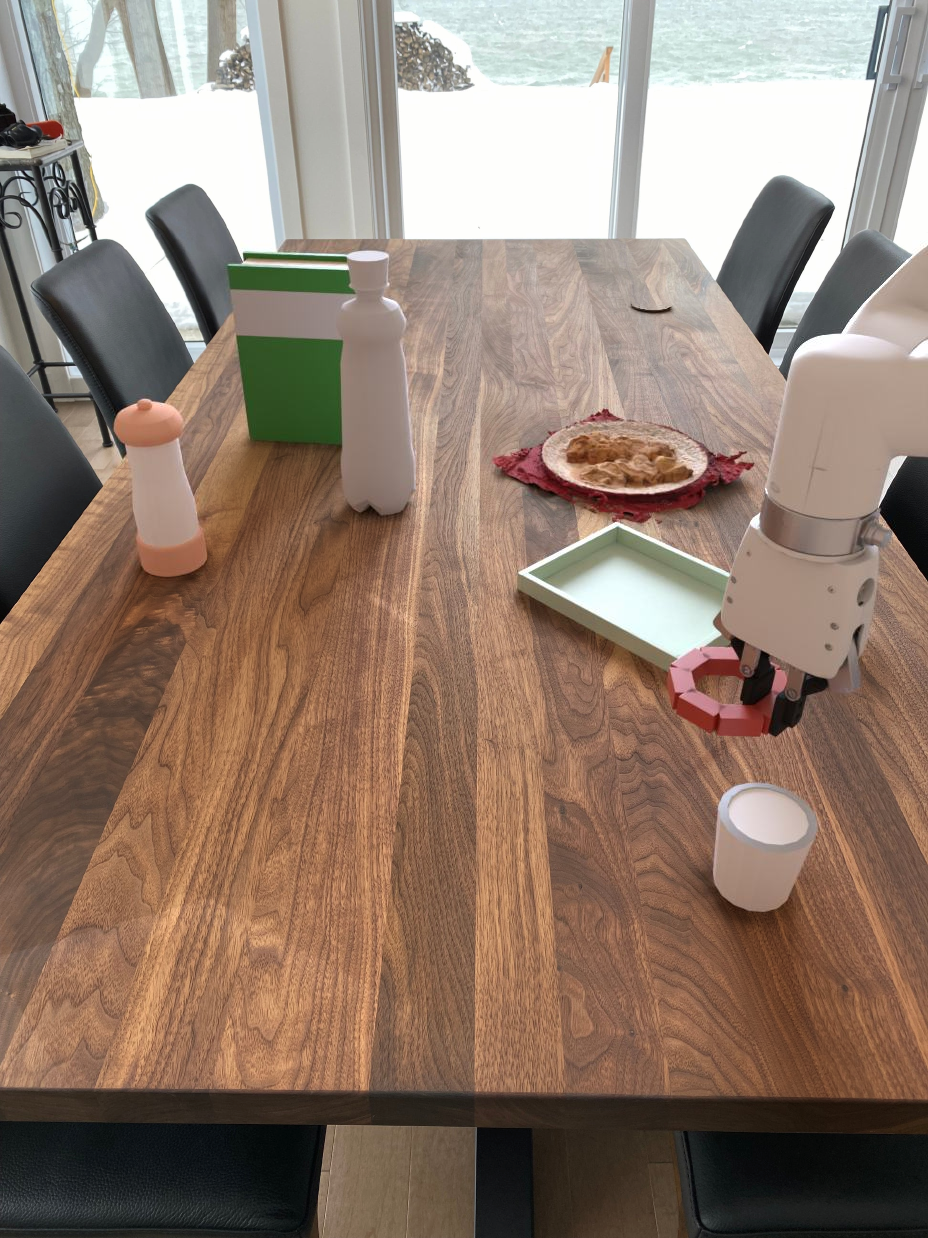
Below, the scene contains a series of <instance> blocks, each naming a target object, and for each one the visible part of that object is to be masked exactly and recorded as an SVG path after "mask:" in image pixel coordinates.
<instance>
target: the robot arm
mask: <svg viewBox="0 0 928 1238" xmlns="http://www.w3.org/2000/svg"><path fill="white" fill-rule="evenodd" d="M782 399H783V400H782V403H781V407H780V408H781V409H780V414H779V419H778V423H777V427H776V433H775V437H774V443H773V448H772V453H771V458H770V459H771V460H770V463H769V469H768V474H767V479H766V484H765V487H764V492H763V496H762V502H761V507H760V512H758V514H756V515H755V516H753V517H752V519H751V521H750V522H749V525H748V527H746V530H745V533H744V535H743V537H742V539H741V542H740V544H739V547H738V550H737V552H736V553H735V557H734V560H733V562H732V566H731V569H730V571H729V573H730V575H729V579H728V582H727V586H726V590H725V594H724V598H723V604H722V609H721V611H720V612H719V613H718V614H717V616H716V617H715V618H714V620H713V625H714V627H715V628H716V629H717V630H718V631H719V632H720V633H721V634H722V635H723V636H724V637H725V638H726V639H727V640H730V641H731V644H730V645H731V647H733V649H734V651H735V653H736V655H737V656H738V658H739V660H740V662H741V663H740V672H741V673H742V674H743V675H744V676H745V677H744V681H743V682H742V687H741V692H740V695H739V701H740V702H742V704H741V705H755V704H756V703H757V702H759V701H760V700H761V699H763V698H764V697H765V696H767V695H768V694H769V693H770V691H771V690H772V686H773V682H774V677H775V673H776V670H775V666H774V665H772V664H770V662H772V661H773V657H774V658H776V659H778V660H781V661H782V662H783V663H786V664H788V665H790V667H789V672H788V674H787V678H788V679H787V683H786V686H785V689H784V690H783V691H782V692H780V693H779V694H778V695H777V696H776V699H775V703H774V707H773V712H772V720H771V724H770V728H769V734H768V735H770V736H772V737H774V738H776V737H778V736H779V735H781V734H782V733H783V732H784V731H785V730H787V729H788V728H790V729H794V728H795V727H796V726H797V725H798V724H799V723H800V722H801V719H802V717H803V713H804V709H805V705H806V701H807V697H809V696H811V695H815V694H818V693H821V692H823V691H828V692H829V693H836V694H844V695H852V694H853V693H854V692H855V691H857V690H858V689H859V688H860V687H861V686H862V678H861V677H862V676H861V670H860V665H859V658H860V657H861V656H862V655H863V653H864V651H865V648H866V646H867V642H868V639H869V635H870V630H871V625H872V620H873V616H874V611H875V604H876V600H877V599H876V597H877V592H878V591H877V590H878V583H879V570H880V549H879V548H881V549H885V548H886V547H887V546H888V545H889V543H890V541H891V539H892V537H893V530H892V529H889V528H887V527H884V525H883V524H882V523H880V519H879V518H880V513H881V511H882V509H881V507H879V505H880V502H881V497H882V494H883V491H884V487H885V484H886V479H887V475H888V472H889V469H890V465H891V462H892V460H893V459H895V458H897V457H917V458H918V457H919V458H928V243H926V244H925V245H923V246H922V247H921V248H920V249H919V250H917V251H916V252H915V253H913V255H912V256H910V257H909V258H908V259H907V260H906V261H904V263H903V264H901V266H900V267H898V268H897V270H896V271H894V273H893V274H892V275H890V277H889V278H887V279H886V281H884V283H882V285H880V286H879V288H878V289H876V290H875V291H874V292H873V293H872V294H871V296H869V298H867V300H866V301H865V302H864V303H863V304H862V305H861V306H860V308H859V309H858V310H857V311H856V312H855V314H854V315H853V316H852V318H850V320H849V322H848V323H847V324H846V326H845V328H844V329H843V331H842V332H841V333H833V334H825V335H818V336H815V337H812V338H810V339H808V340H807V341H805V342H804V343H802V344H801V345H800V346H799V347H798V348H797V350H796V351H795V352H794V355H793V357H792V359H791V362H790V366H789V369H788V373H787V378H786V384H785V389H784V394H783V398H782Z"/></svg>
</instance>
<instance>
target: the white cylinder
mask: <svg viewBox="0 0 928 1238" xmlns="http://www.w3.org/2000/svg"><path fill="white" fill-rule="evenodd" d="M815 813H816V812H815V811H814V810H813V809H812V808H811V807H810V805H809V804H808V803H807V802H806V800H805V799H803V798H802V797H800V796H799V795H797V794H795V793H794V792H792V791H791V790H789V789H787V788H785V787H781V786H779V785H775V784H773V783H768V782H754V781H750V782H746V783H741V784H736V785H734V786H733V787H731V788H730V789H728V790H727V791H726V792H724V793H723V794H722V797H721V799H720V801H719V804H718V805H717V815H716V816H717V817H716V830H715V840H714V841H715V842H714V844H715V845H714V853H713V854H714V855H713V864H712V865H713V867H712V877H713V882H714V883H713V884H714V886H715V887H716V889H717V890H718V892H719V894H720V895H721V896H722V897H723V898H724V899H726V900H727V901H728V902H730V903H731V904H732V905H734V906H736V907H738V908H740V909H744V910H746V911H748V912H758V913H759V912H760V913H767V912H770V911H773V910H777V909H779V908H780V907H781V906H783V905H784V904H785V903H786V902H787V901H788V899H789V897H790V895H791V892H792V890H793V888H794V885H795V883H796V881H797V879H798V877H799V875H800V872H801V870H802V868H803V866H804V864H805V861H806V859H807V857H808V855H809V852H810V850H811V848H812V846H813V844H814V841H815V838H816V836H817V832H818V829H819V824H818V821H817V816H816V814H815Z"/></svg>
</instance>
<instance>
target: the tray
mask: <svg viewBox="0 0 928 1238" xmlns="http://www.w3.org/2000/svg"><path fill="white" fill-rule="evenodd" d="M516 573H517V576H516V577H517V578H516V590H519V591H520V592H522V593H524V594H525V595H527V596H528V597H530V598H532V599H534V600H536V601H538V602H539V603H542V604H544V605H545V606H547V607H549V608H551V609H552V610H554V611H556V612H558V613H560V614H562V615H563V616H565V617H567V618H569V619H571V620H572V621H574V622H576V623H578V624H580V625H582V626H583V627H585V628H587V629H589V630H591V631H592V632H594V633H596V634H598V635H599V636H601V637H603V638H605V639H606V640H609V641H610V642H612V643H614V644H616V645H618V646H620V647H622V648H623V649H625V650H627V651H629V652H631V653H632V654H634V655H635V656H638V657H639V658H640V659H641V658H642V659H643V660H644V661H647V662H649V663H650V664H652V665H653V666H656V667H658V668H659V669H661V670H662V671H665V672H667V674H668V673H669V668H670V667H671V663H673V662H674V661H676V660H677V659H679V658H680V657H682V656H683V655H685V654H686V653H688V652H689V651H691V650H692V649H694V648H696V649H698V650H700V647H729V645H731V641H730V640H727V639H726V638H725V637H724V636H723V635H722V634H721V633H720V632H719V631H718V630H717V629H716V628H715V627H714V625H713V620H714V618H715V617H716V616H717V614H718V613H719V612H720V611H721V609H722V604H723V598H724V594H725V590H726V586H727V582H728V579H729V575H730V572H728V571H726V570H723V569H721V568H719V567H717V566H715V565H713V564H710V563H709V562H707V561H704V560H701V559H699V558H697V557H695V556H693V555H691V554H688V553H686V552H684V551H682V550H679V549H677V548H675V547H673V546H671V545H668V544H666V543H664V542H662V541H659V540H658V539H655V538H653V537H651V536H650V535H646V534H644V533H642V532H640V531H638V530H636V529H633V528H631V527H629V526H627V525H624V524H623V523H620V522H619V521H618V522H615V521H614V522H613V523H612V524H610V525H608V526H606V527H604V528H602V529H599V530H598V531H596V532H593V533H592V534H589V535H588V536H586V537H584V538H582V539H580V540H578V541H577V542H575V543H572V544H571V545H569V546H567V547H565V548H563V549H561V550H559V551H556V552H555V553H553V554H551V555H549V556H547V557H545V558H543V559H541V560H539V561H538V562H535V563H533V564H532V565H530V566H528V567H525V568H524V569H522V570H520V571H518V572H516Z"/></svg>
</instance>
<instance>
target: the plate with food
mask: <svg viewBox="0 0 928 1238" xmlns="http://www.w3.org/2000/svg"><path fill="white" fill-rule="evenodd" d="M547 434H548V436H547V437H546V438H545V439H544V440H543V442H541V443H539V444H538V445H536V446H532V447H530V448H529V447H527V446H526V447H524V448H523V447H521V448H520V450H517V451H516V452H511V451H510V452H509V453H510V456H509V455H504V454H503V455H500V456H497V457H495V456H494V457H493V458H492V459H491V461H492V463H493V464H494V465H495V466H496V468H501V470H502V471H505V472H504V474H506V475H509V476H510V477H513V478H515V479H518V480H519V481H521V482H523V483H526V484H527V485H531V484H535V485H537V487H540V488H541V489H543V490H545V491H547V492H551V491H552V493H553V492H554V494H556V495H558V497H561V498H563V499H565V500H567V501H570V502H571V503H572V504H576V503H584V504H585V505H589V506H591V507H590V510H591V511H592V512H599V513H600V512H601V513H607V514H614V516H613V517H611V520H612V521H613V522H614V523H615V522H618V523H619V520H620V521H621V520H625V521H626V520H627V521H628V522H631V523H638V524H639V523H645V522H647V524H648V525H650V524H651V523H650V522H648V521H649V520H650V519H651V518H652V515H651V514H650V513H656V514H661V513H663V512H664V511H666V512H668V511H667V510H674V509H675V511H677V509H680V508H681V509H682V510H687V509H689V508H691V507H693V506H695V505H696V504H698V503H699V502H701V500H702V499H703V498H704V497H705V495H706V491H705V490H704V488H706V487H707V485H709V486H711V487H712V486H713V487H716V486H718V485H719V479H720V480H721V482H722V483H723V485H724V486H727V484H730V483H731V482H733V481H735V480H736V479H738V478H740V476H741V475H742V473H744V471H745V470H746V471H747V472H748V471H750V470H752V468H754V466H755V462H744V461H738V462H736V460H738V459H739V458H741V457H742V456H744V455H746V454H747V453H748V451H747V450H745V451H741V450H740V451H739V452H738V453H736V454H731V455H729V456H727V455H724V454H722V453H721V452H718V453H717V454H714V452H713V451H710V449H708V447H707V446H706V444H704V443H703V442H700V441H698V440H696V439H694V438H692V437H691V436H690V435H688V434H686V433H685V432H682V431H681V430H679V429H675V428H673V427H671V426H670V425H669V426H668V425H665V424H658V423H654V422H651V421H650V422H649V421H637V420H634V419H623V418H622V417H618V416H616V415H614V414H613V413H612V412H610V410H609V409H608V408H602V410H601V412H600V411H597V412H596V413H595V414H593V413H592V414H590V415H589V416H588V417H587V418H586V419H583V420H579V422H577V421H575V422H574V423H573V424H572V425H571V424H569V425H566V426H565V428H561V429H557V430H551V431H550V430H547ZM572 497H574V498H578V499H581V498H583V499H586V498H587V499H591V501H590V500H588V501H587V500H585V501H579V500H573V498H572ZM594 500H596V501H597V502H596V503H595V502H594ZM585 509H586V510H587V509H588V507H585ZM624 513H630V514H633V516H632V517H631V518H630V517H626V516H625V514H624ZM653 518H655V519H654V521H655V522H656V524H658V523H660V522H661V520H659V519H658V518H656V516H654V517H653ZM621 524H624V522H623V521H622V522H621Z"/></svg>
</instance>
